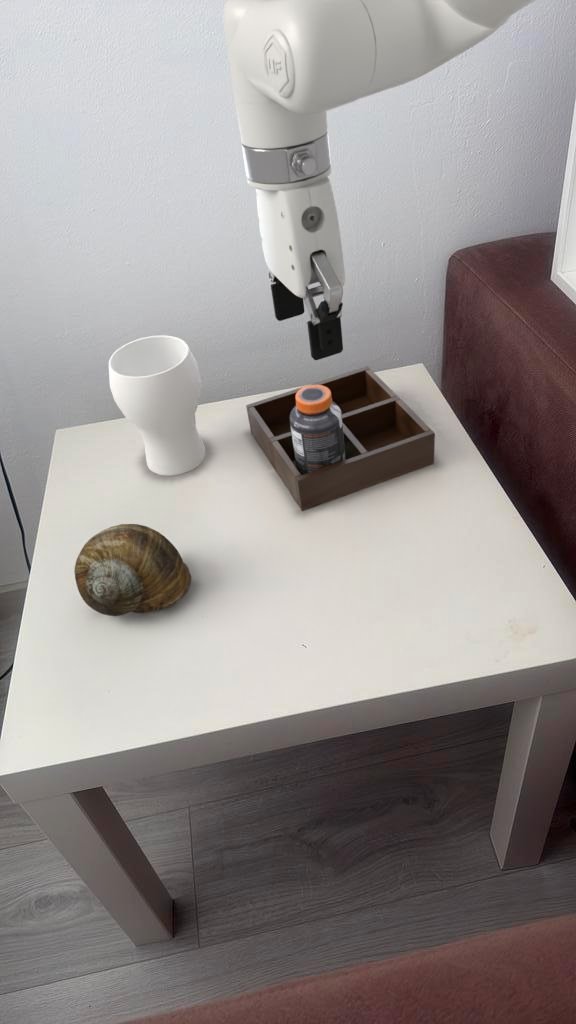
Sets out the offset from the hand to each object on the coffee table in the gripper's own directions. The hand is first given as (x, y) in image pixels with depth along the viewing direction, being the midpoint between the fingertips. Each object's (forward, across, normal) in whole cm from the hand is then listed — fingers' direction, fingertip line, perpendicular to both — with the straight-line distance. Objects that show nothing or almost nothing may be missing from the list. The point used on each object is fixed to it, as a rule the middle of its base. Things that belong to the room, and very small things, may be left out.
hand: (308, 335), depth 76 cm
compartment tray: (+20, +5, -4) cm, 21 cm away
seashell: (+20, -7, +25) cm, 32 cm away
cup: (+19, +14, +15) cm, 28 cm away
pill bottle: (+19, +1, 0) cm, 19 cm away
